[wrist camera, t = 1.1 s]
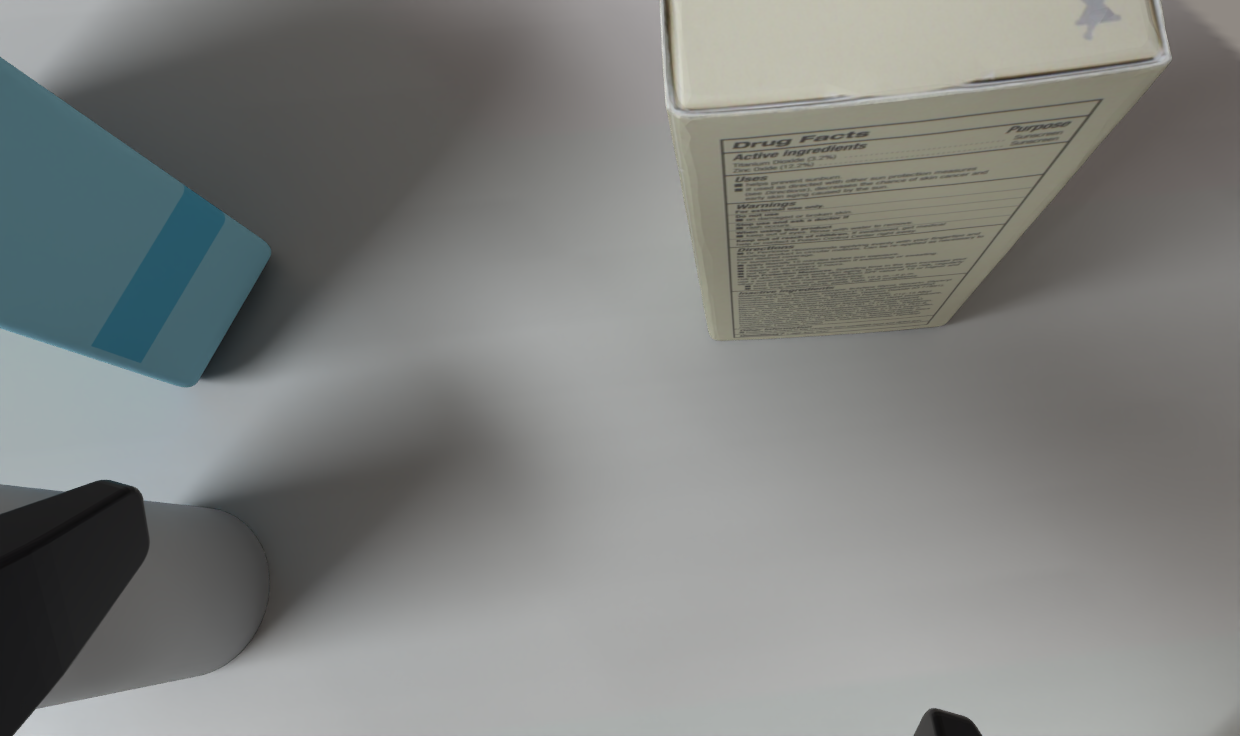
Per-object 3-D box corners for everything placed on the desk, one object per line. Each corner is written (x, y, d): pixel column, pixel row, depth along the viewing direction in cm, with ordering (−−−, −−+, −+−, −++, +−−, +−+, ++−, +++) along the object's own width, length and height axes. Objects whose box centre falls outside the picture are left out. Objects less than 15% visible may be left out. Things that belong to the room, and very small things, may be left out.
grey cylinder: (263, 676, 22) (8, 735, 14) (107, 678, 23) (-220, 736, 15) (274, 504, 23) (43, 473, 15) (124, 510, 24) (-173, 483, 16)
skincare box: (927, 176, 23) (1135, -242, 11) (948, 336, 22) (1199, 65, 10) (691, 196, 23) (649, -175, 12) (700, 352, 22) (664, 116, 11)
